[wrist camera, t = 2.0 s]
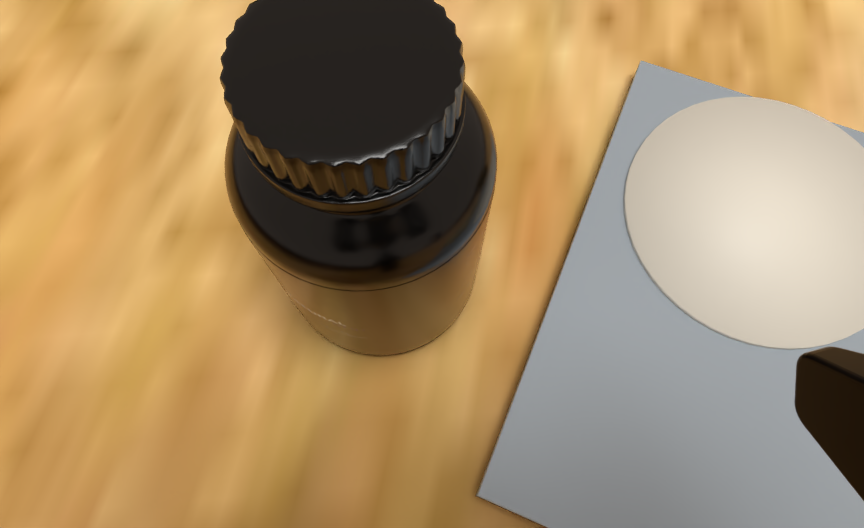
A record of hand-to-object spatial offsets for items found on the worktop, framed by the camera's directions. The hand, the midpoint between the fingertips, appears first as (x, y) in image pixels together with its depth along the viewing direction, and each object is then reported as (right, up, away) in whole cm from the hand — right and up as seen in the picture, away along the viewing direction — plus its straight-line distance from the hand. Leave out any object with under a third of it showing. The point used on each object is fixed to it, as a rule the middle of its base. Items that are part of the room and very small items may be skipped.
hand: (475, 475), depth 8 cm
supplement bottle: (-2, +2, +15) cm, 16 cm away
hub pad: (+12, +4, +16) cm, 20 cm away
